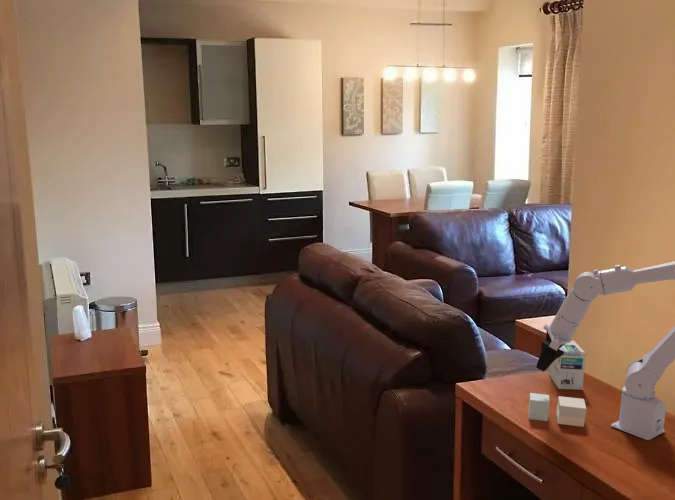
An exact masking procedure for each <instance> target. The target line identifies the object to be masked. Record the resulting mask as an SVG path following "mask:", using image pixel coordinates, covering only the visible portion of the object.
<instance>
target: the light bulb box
mask: <svg viewBox="0 0 675 500" xmlns="http://www.w3.org/2000/svg"><path fill="white" fill-rule="evenodd" d="M559 349H560V350H562V351H564V354H563V355H562V356H560V357H559V358H557V359H556V360H555V361H554V362H553V363H552V364H551V365H550V366H549V369H548V371H549V372H548V376H549V378H550V379H551V381H553V383H554V384H555V386H556V388H558V390H574V391H575V390H579V391H583V388H584V376H585V368H586V367H585V365H586V356H587V352H586V351H585V350H584V349H583V348H582V347H581V346H580V345H579V344H578V343H577V342H576V341H575V340H571V342H570V343H566V344H564V345H563V346H562V347H561V348H559Z"/></svg>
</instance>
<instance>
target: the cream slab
mask: <svg viewBox="0 0 675 500" xmlns="http://www.w3.org/2000/svg"><path fill="white" fill-rule="evenodd" d="M556 421H557V424H559V425H567V426H575V427H582V428H584V427H585V421H586V417H585V418H576V417H568V416H559V412H558V405H556Z"/></svg>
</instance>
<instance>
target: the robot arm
mask: <svg viewBox="0 0 675 500" xmlns="http://www.w3.org/2000/svg"><path fill="white" fill-rule="evenodd" d="M669 280H674V281H675V260H674V261H671V262H670V261H669V262H665V263H661V264H656V265H652V266H646V267H642V268H637V269H632V268H629V266H626V265H625V266H622V265H621V264H615V265H614V267H613V268H610V269H609V268H608V269H603V270H599V269H593V271H592V272H591V271H585V272H582V273H580V274H579V275H578V276H576V277H575V280H574V284H573V287H572V289H570V291H569V292H568V295H567V296H565V298H564V300H563V302H562V303H561V306H560V307H559V309H558V310H557V313H556V314H555V316H554V317H553V319H552V321H551V323H550V325H548V324H544V325H543V330H546V333H545V334H546V335H545V339H544V338H543V339H542V341H541V350H540V355H539V357H538V359H537V362H536V366H535V367H536V368H537V370H540V371H542V372H545V371H546V370H548V368H550V365H551V364H552V363H553V362H554V361H555V360H556V359H557V358H559V357H560V356H562V355H563V354H564V351H562V350H560V349H559V348H561V347H562V346H563V345H564V344H566V343H570V342H571V340H572V339H573V336H574V335H575V333H576V331H577V329H578V327H579V326H580V324H581V323H582V321H583V320H584V317H585V315H586V314H587V312H588V311H589V309H590V304H591V303H592V301H593V300H595V299H596V298H597V297H598V296H599V295H602V296H607V295H612V294H619V293H624V292H630V291H633V289H634V287H635V286H636V285H639V284H647V283H654V282H655V283H656V282H661V281H662V282H663V281H669ZM674 361H675V325H674V326H673V327H672V328H671V329H670V330H669V331H668V333H666V334H665V336H664V337H663V338H662V339H661V340H660V341H659V342H658V343H657V344H656V345H655V346H654V347H653V349H651V350H650V351H649V352H647V353H646V354H644V355H643V356H642V357H641V358H640V359H637V360H633V361H632V362H630V363H629V364H628V365H627V368H626V378H625V382H624V386H623V387H622V391H621V399H620V406H619V407H620V408H619V409H620V410H619V419H618V420H617V421H615V422H613V423H611V424H610V427H612V428H615V429H618V430H620V431H622V432H625V433H628V434H630V435H632V436H636V437H638V438H640V439H643V440H646V441H650V440H652V439H653V438H655V437H657V436H659V435H661V434H663V433H665V431H666V430H665V429H664V427H665V418H666V412H667V411H666V410H667V405H666V402H665V401H664V400H662V399H660V398H659V397H657V396H656V391H655V389H656V388H655V387H656V384H657V383H658V381H660V380H661V378H662V376H663V375H664V373H665V371H666V370H667V368H668V367H669V366H670V365H671V364H672V363H673V362H674Z"/></svg>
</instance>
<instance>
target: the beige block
mask: <svg viewBox="0 0 675 500" xmlns="http://www.w3.org/2000/svg"><path fill="white" fill-rule="evenodd" d="M557 406H558V412H559V416H568V417H576V418H585V419H586V417H587V416H586V414H587V406H586V401H585V399H584V398H578V397H571V396H560V395H559V396H558V398H557Z"/></svg>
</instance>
